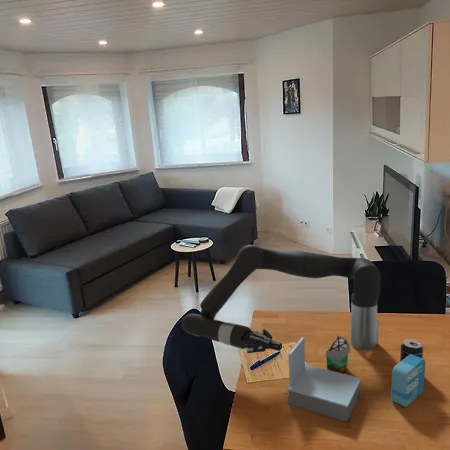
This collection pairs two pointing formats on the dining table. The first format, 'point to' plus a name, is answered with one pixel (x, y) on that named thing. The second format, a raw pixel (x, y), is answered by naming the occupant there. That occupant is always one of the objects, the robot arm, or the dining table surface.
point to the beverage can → (411, 348)
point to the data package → (408, 380)
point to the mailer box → (323, 405)
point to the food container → (338, 355)
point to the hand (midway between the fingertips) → (281, 347)
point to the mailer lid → (319, 380)
